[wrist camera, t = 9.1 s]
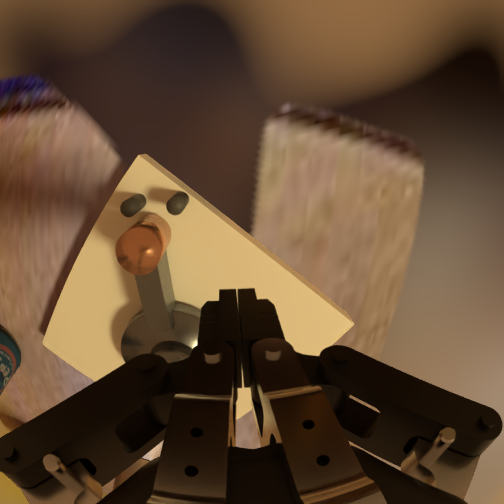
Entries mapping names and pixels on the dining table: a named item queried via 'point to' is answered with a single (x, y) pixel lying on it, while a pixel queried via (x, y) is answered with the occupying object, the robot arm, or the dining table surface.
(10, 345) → the soda can
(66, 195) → the dining table surface
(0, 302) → the dining table surface
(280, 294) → the base board
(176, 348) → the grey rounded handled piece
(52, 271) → the dining table surface
